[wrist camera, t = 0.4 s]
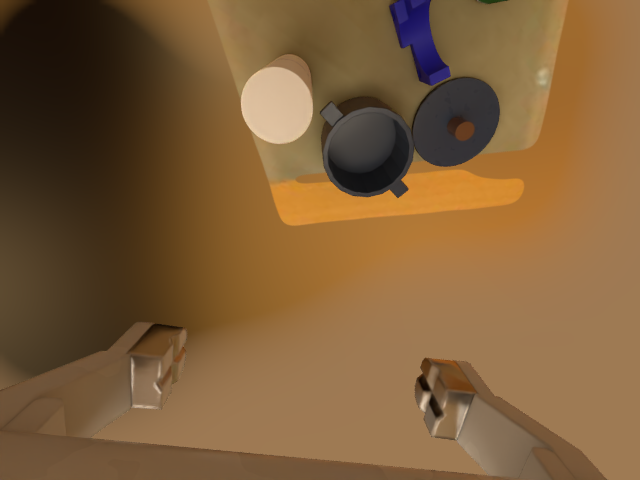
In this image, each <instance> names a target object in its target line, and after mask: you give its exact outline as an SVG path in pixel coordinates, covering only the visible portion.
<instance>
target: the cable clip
mask: <svg viewBox="0 0 640 480" xmlns="http://www.w3.org/2000/svg"><path fill="white" fill-rule="evenodd" d="M430 1H431V0H398V1H397V2H395V3H393V4H391V5H390V6H389V7H390V10H391V14H392V18H393V21H394V25H395V29H396V32H397V36H398V40H399V43H400V47H401V48H405V47H407V46H409V45H410V46H411V50H412V54H413V57H414V61H415V65H416V69H417V73H418V77H419V81H421V82H423V83H426V84H428V85H431V86H432V85H434V84H436V83H438V82H440V81H442V80H444V79H446V78H448V77H450V76H451V75H450V70H449V66H447V65H446V64H445V63H444V62H443V61H442V60H441V58H440V56H439V55H438V52H437V50H436V48H435V45H434V42H433V38H432V34H431V30H430V23H429V5H430Z"/></svg>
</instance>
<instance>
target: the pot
mask: <svg viewBox="0 0 640 480" xmlns="http://www.w3.org/2000/svg"><path fill="white" fill-rule="evenodd" d="M320 114H321V115H322V116H323V117H324V118H325V120H326V121H325V124H324V127H323V131H322V135H321V142H322V154H323V163H324V168H325V170H326V173H327V175H328V177H329V179H330V181H331V182H332V183H333V184H334V185H335V186H336V187H338V188H339V189H340V190H341V191H343V192H346V193H348V194H350V195H352V196H360V197H371V196H375V195H379V194H383V193H384V192H386V191H388V190H389V189H390V190H391V191H392V192H393V193H394V195H395V196H396V197H397V198H399V197H400V196H401V195H402V194H404V193H405V192H406V191H408V190H409V189H408V187H407V186H406V185H405V184H404V183H403V182H402V181H401V179H402V178H403V177H404V176H405V175H406V173H407V171H408V169H409V167H410V165H411V163H412V160H413V152H414V141H413V137H412V133H411V130H410V128H409V127H408V125H407V124H406V123H405V121H404V120H403V119H402V118H401V116H400V115H398V114H397V113H396V112H395V111H394V110H393V109H392V108H390V107H389V106H388V105H387V104H385V103H383V102H381V101H380V100H378V99H376V98H371V97H357V98H352V99H349V100H347V101H345V102H343V103H342V104H340V105H339V106H337V107H336V105H335V104H334V103H333V102H332V101H330V102H329V103H328V104H327V105H326V106H325V107H324V108H323V109H322V110H321V111H320Z"/></svg>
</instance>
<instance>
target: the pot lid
mask: <svg viewBox="0 0 640 480" xmlns="http://www.w3.org/2000/svg"><path fill="white" fill-rule="evenodd" d="M499 115H500V108H499V102H498V98H497V96H496V94H495V92H494V91H493V89H492V88H491V87H490V86H489V85H488V84H486V83H485V82H483V81H481V80H478V79H474V78H458V79H454V80H451V81H448V82H446V83H444V84H442V85H440V86H439V87H437V88H436V89H435V90H434V91H432V92H431V93H430V94H429V95H428V96H427V97H426V99H425V100H424V101H423V102H422V104H421V106H420V107H419V109H418V111H417V113H416V116H415V119H414V123H413V129H412V137H413V141H414V146H415V148H416V150H417V152H418V153H419V155H420V156H421V157H422V158H423V159H424V160H426V161H427V162H429V163H431V164H433V165H436V166H444V167H447V166H455V165H458V164H462V163H464V162H466V161H468V160H470V159H472V158H473V157H474V156H476V155H477V154H478V153H480V152H481V151H482V150H483V149H484V148H485V147H486V145H487V144H488V143H489V141H490V140H491V138H492V137H493V135H494V133H495V131H496V128H497V125H498V121H499Z"/></svg>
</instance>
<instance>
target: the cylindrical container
mask: <svg viewBox="0 0 640 480" xmlns="http://www.w3.org/2000/svg"><path fill="white" fill-rule="evenodd" d="M241 109H242V113H243V117H244V119H245V121H246V123H247V125H248V127H249V128H250V129H251V130H252V131H253V133H254V134H256V135H257V136H258V137H259V138H261V139H263V140H265V141H267V142H271V143H276V144H283V143H289V142H292V141H294V140H296V139H297V138H299V137H300V136H301V135H302V134H303V133H304V132H305V131H306V130H307V128H308V126H309V124H310V122H311V118H312V115H313V98H312V81H311V73H310V69H309V67H308V65H307V64H306V63H305V61H304V60H303V59H301V58H300V57H298V56H296V55H292V54H286V55H282V56H280V57H278V58H277V59H275V60H274V61H272V62H271V63H269V64H268V65H267V66H265V67H264V68H262V69H261V70H259V71H258V72H256V73H255V74H253V75H252V76H251V77H250V78H249V80H248V81H247V83H246V84H245V86H244V89H243V92H242V97H241Z"/></svg>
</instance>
